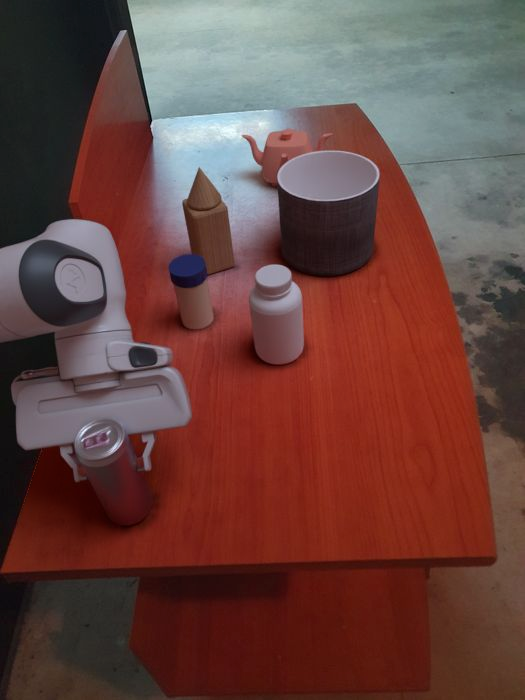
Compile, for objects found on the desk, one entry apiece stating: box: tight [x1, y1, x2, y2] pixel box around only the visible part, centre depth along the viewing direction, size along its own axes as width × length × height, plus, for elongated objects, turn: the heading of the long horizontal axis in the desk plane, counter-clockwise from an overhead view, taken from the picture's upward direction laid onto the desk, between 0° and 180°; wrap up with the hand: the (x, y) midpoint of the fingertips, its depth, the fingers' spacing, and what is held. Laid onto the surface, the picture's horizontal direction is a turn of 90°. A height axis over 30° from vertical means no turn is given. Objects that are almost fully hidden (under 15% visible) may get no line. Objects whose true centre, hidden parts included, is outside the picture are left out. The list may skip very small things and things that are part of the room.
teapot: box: [241, 127, 334, 187], centre depth 127 cm, size 14×14×11 cm
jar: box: [172, 277, 215, 330], centre depth 95 cm, size 6×6×11 cm
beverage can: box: [74, 419, 154, 526], centre depth 69 cm, size 6×6×15 cm
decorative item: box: [181, 166, 235, 276], centre depth 103 cm, size 7×7×20 cm
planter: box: [277, 150, 381, 277], centre depth 105 cm, size 18×18×16 cm
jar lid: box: [168, 253, 209, 288], centre depth 92 cm, size 6×6×2 cm
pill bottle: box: [248, 264, 305, 366], centre depth 87 cm, size 8×8×15 cm
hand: (114, 475), depth 68 cm, fingers closed on beverage can, 6 cm apart
